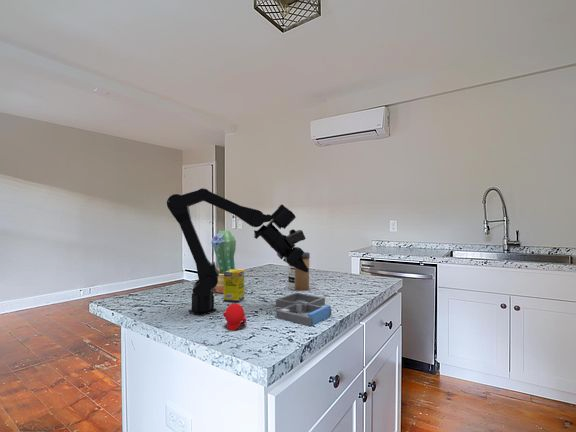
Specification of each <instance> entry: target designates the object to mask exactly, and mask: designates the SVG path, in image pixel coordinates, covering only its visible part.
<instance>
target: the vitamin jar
mask: <svg viewBox="0 0 576 432" xmlns="http://www.w3.org/2000/svg"><path fill="white" fill-rule="evenodd" d="M310 257H311V256H310V252H308V251H304V253H303V255H302V259H303V261H304V263H305V265H306V266H307V268H308V270H309V271H308V272H304V271H302V270H300V269H297V268H295V290H294V291H299V292H305V291H309V290H310Z"/></svg>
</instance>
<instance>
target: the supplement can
mask: <svg viewBox="0 0 576 432" xmlns="http://www.w3.org/2000/svg"><path fill="white" fill-rule="evenodd" d="M287 264H288V263H287ZM287 266H288V268H287V269H288V271H287V272H288V275H287V277H288V278H287V279H288V280H287V281H288V284H287V285H288V286H287V287H288V288H289V289H290V291H292V290H293V291H296V290H295V267H293V266H290V265H289V264H288V265H287Z"/></svg>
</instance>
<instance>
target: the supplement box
mask: <svg viewBox="0 0 576 432" xmlns="http://www.w3.org/2000/svg"><path fill="white" fill-rule="evenodd" d="M244 299H245V270H244V269H242V270H233V269H230V270H228V271H226V272H224V293H223V303H224V302H225V303H226V302H227V303H237V304H239V303H240V302H242V300H244Z"/></svg>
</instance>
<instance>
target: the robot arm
mask: <svg viewBox="0 0 576 432" xmlns="http://www.w3.org/2000/svg"><path fill="white" fill-rule="evenodd" d="M202 202H205V203H208V204H210V205H212V206H214V207H217V208H218V209H221V210H222V211H223V210H224V211H225V212H228V213H229V214H232V215H234V216H235V217H237V218H239V219H240V220H241V221H243V222H244V223H246V224H247V225H249V226H250V227H253V228H259V229H257V230H253V237H254V239H256V240H257V239H258V238H259V237H260V238H262V239H263V240H264V241H265V243H267V244H268V245H269V246H270V248H271V249H273V250H274V251H275V253H276V256H277V257H278V258H279V259H280V260H282V261H284V263H287V264H289V265H290V266H293V267H295V268H297V269H300V270H302V271H304V272H308V271H309V272H310V269H309V270H308V268H307V266H306V265H305V263H304V261H303V259H302V255H303V253H304V252H305V251H304V250H303V249H302V248H301V247H299V246H296V244H297V243H299V242H301V241H304V240H306V238H307V237H306V236H305V235H304V231H303V230H302V229H301V230H300V229H298V230H295V229H290V230H289V232H288V235H284V234H283V233H282V232H281V231H279V230H281V229H284V230H285V229H286V228H287V227H288V226H290V224H291V223H292V222H293V221H294V220H295V219H297V216H296V215H295V213H293V212H292V210H290V209H289V208H287V207H286V206H285V205H284V204H280V205H278V207H277V209H275V211H273V212H272V214H264V213H263V212H262V211H261V210H258V209H255V208H252V207H248V206H244V205H240V204H238V203H235V202H233V201H232V200H230V199H227V198H225V197H223V196H220V195H218V194H216V193H214V192H212V191H210V190H208V189H207V188H205V187H203V188H199V189H198V190H193V191H190V192H187V193H184V194H178V193H175V194H171V195H169V197H168V199H167V201H166V206H167V208H168V211H170V213H171V214H172V216H173V218H174V219H175V221H177V223H178V224H179V226H180V229H181V231H182V234H183V236H184V239H185V240H186V243H187V245H188V249H189V250H190V253H191V255H192V258H193V260H194V263H195V266H196V273H197V277H198V280H196V282H195V283H194V285H193V287H192V290H191V291H192V293H191V309H188V313H191V314H194V315H198V316H204V315H207V314H209V313H213V312H217V309H216V308H215V296H214V290H213V289H214V288H215V286H216V285H217V283H218V276H219V271H218V270H217V269H218V268H217V265H216V262H215V261H212V262H210V261H209V259H208V257H207V255H206V253H205V250H204V247H203V245H202V243H201V241H200V237H199V235H198V232H197V230H196V229H195V226H194V223H193V221H192V216H191V210H190V207H191V206H194V205H197V204H200V203H202ZM265 223H267V224H266V225H265ZM215 289H216V288H215Z"/></svg>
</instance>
